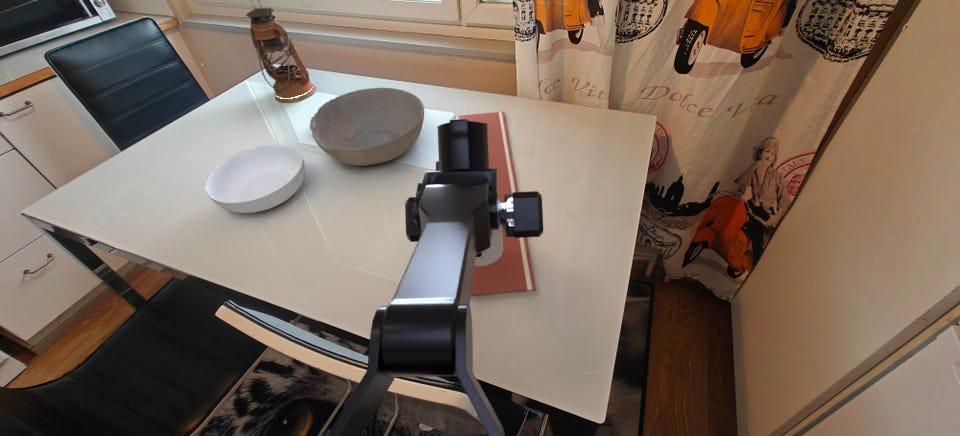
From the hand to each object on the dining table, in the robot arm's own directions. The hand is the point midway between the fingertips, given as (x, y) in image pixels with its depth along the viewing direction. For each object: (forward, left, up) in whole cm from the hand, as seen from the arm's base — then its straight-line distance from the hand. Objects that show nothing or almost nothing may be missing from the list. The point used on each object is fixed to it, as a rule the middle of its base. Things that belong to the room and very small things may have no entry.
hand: (478, 218), depth 64 cm
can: (-1, +1, -7) cm, 7 cm away
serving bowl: (+46, +33, -13) cm, 58 cm away
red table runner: (+22, -12, -13) cm, 28 cm away
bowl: (+50, +5, -13) cm, 52 cm away
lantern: (+96, +19, -13) cm, 99 cm away
